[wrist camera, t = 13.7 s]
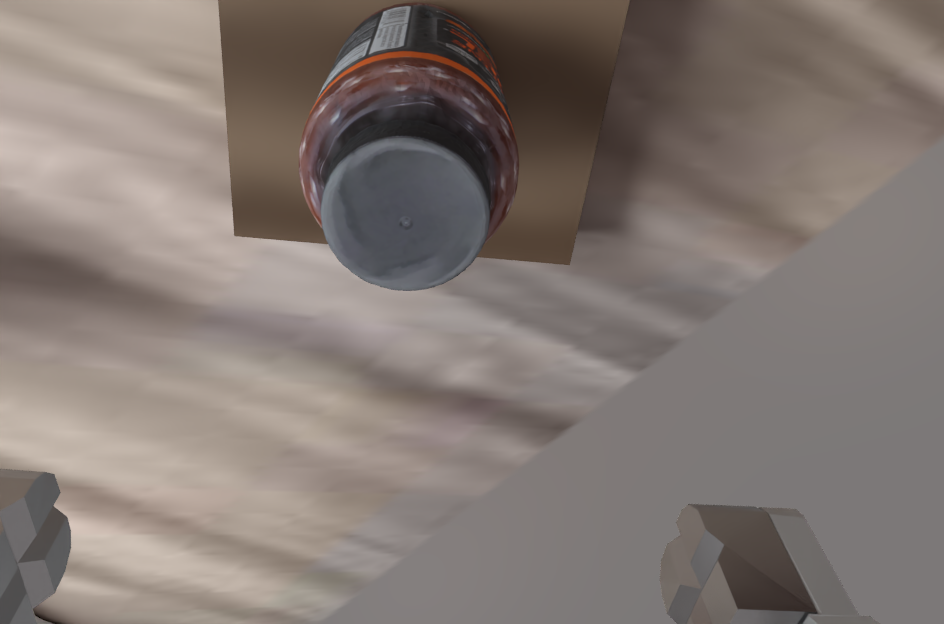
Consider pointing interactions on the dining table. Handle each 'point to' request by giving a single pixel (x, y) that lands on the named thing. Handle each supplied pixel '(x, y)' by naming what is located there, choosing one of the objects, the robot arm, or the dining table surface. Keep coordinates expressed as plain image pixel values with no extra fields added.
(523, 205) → the beige flat square block
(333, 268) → the dining table surface
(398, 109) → the supplement bottle
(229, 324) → the dining table surface
